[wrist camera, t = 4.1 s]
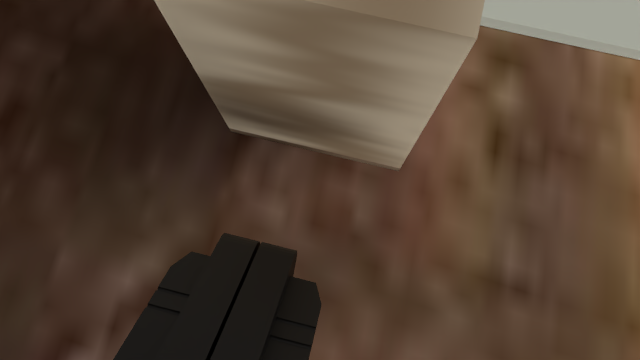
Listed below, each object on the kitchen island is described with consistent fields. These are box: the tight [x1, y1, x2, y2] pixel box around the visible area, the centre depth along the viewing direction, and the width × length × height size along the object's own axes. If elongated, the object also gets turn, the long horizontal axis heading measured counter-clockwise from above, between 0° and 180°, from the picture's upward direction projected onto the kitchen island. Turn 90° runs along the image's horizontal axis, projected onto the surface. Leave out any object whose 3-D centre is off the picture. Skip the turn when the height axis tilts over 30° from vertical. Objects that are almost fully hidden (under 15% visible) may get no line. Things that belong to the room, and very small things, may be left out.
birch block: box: [154, 0, 485, 171], centre depth 14 cm, size 6×4×10 cm, turn 76°
